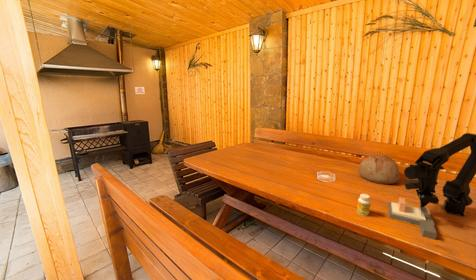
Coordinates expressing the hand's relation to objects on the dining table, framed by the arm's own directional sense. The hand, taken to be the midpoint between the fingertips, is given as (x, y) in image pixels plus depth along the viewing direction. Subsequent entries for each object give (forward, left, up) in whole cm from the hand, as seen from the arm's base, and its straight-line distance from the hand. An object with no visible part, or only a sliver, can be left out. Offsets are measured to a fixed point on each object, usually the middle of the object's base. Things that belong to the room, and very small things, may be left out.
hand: (421, 206), depth 100 cm
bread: (+17, -40, -4) cm, 43 cm away
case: (+5, +9, -4) cm, 11 cm away
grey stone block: (0, +5, -1) cm, 5 cm away
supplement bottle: (+24, +13, -4) cm, 28 cm away
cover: (+6, +5, -2) cm, 8 cm away
